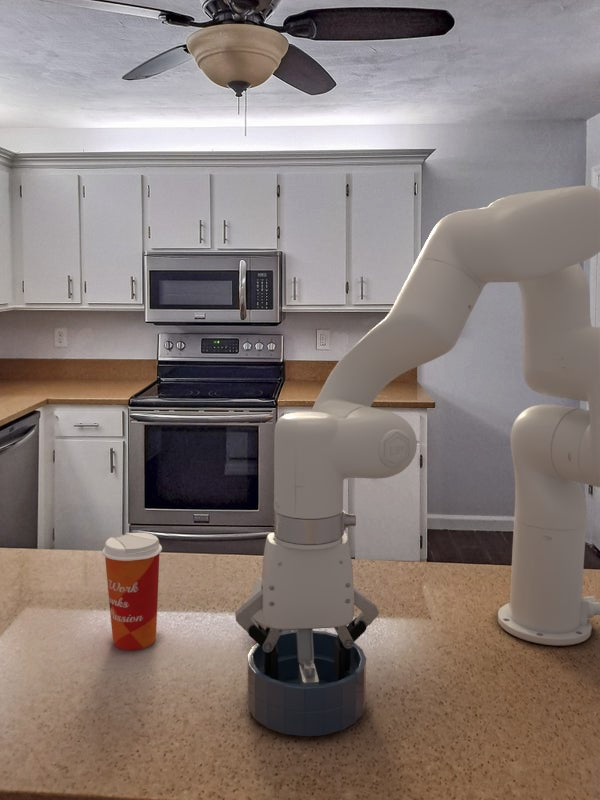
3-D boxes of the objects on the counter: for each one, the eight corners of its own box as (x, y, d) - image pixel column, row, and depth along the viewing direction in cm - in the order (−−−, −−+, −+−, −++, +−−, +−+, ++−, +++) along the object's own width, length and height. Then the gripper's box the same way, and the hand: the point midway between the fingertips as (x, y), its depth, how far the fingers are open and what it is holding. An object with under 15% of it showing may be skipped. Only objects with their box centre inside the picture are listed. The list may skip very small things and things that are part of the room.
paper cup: (93, 640, 98) (90, 540, 96) (141, 622, 104) (139, 527, 102) (127, 660, 93) (124, 555, 91) (175, 640, 99) (174, 540, 97)
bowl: (352, 673, 90) (353, 627, 90) (375, 737, 77) (377, 684, 77) (245, 679, 89) (245, 632, 88) (250, 745, 76) (250, 691, 75)
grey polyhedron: (284, 666, 93) (325, 596, 95) (225, 627, 94) (267, 559, 96) (285, 657, 102) (322, 594, 104) (230, 622, 103) (269, 560, 105)
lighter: (318, 718, 80) (319, 649, 79) (302, 719, 79) (303, 650, 78) (310, 684, 87) (311, 620, 86) (295, 685, 86) (296, 621, 85)
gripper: (378, 513, 85) (375, 658, 87) (227, 517, 83) (228, 665, 85) (394, 534, 77) (389, 691, 80) (229, 539, 75) (230, 700, 78)
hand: (306, 676), depth 83 cm, fingers open, 6 cm apart
